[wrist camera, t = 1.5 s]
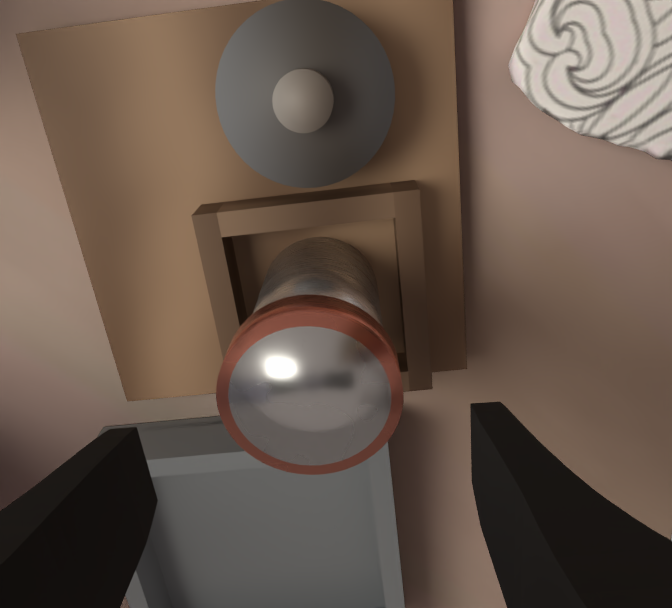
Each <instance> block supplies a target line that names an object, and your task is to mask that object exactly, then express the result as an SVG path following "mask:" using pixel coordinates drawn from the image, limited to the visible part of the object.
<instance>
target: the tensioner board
mask: <svg viewBox="0 0 672 608" xmlns="http://www.w3.org/2000/svg"><path fill="white" fill-rule="evenodd" d="M16 36H17V39H18V43H19V46H20V49H21V52H22V56H23V59H24V62H25V66H26V69H27V72H28V76H29V79H30V82H31V85H32V89H33V92H34V95H35V99H36V102H37V105H38V109H39V112H40V115H41V118H42V122H43V125H44V128H45V132H46V135H47V138H48V142H49V145H50V148H51V151H52V155H53V158H54V161H55V165H56V168H57V171H58V174H59V178H60V181H61V184H62V188H63V191H64V194H65V198H66V201H67V204H68V207H69V211H70V214H71V217H72V221H73V224H74V227H75V231H76V234H77V237H78V240H79V244H80V247H81V250H82V254H83V257H84V260H85V264H86V267H87V270H88V273H89V277H90V280H91V283H92V287H93V290H94V293H95V297H96V300H97V303H98V306H99V310H100V313H101V316H102V320H103V323H104V326H105V330H106V333H107V336H108V339H109V343H110V346H111V349H112V353H113V356H114V359H115V363H116V366H117V369H118V372H119V376H120V379H121V382H122V386H123V389H124V392H125V396H126V399H127V401H137V400H147V399H158V398H168V397H178V396H189V395H199V394H210V393H216V386H217V379H218V375H219V372H220V369H221V366H222V363H223V360H224V358H225V355H226V353H227V350H228V348H229V345H230V343H231V341H232V339H233V337H234V335H235V333H236V332H237V330H238V329H239V327H240V326H241V325H242V324H243V323H244V322H245V320H246V319H247V318H248V317H250V316H251V315H252V314H253V311H254V308H255V305H256V303H257V300H258V297H259V294H260V291H261V288H262V285H263V282H264V279H265V276H266V274H267V271H268V268H269V266H270V264H271V263H272V261H273V260H274V258H275V257H276V256H277V255H278V254H279V253H280V252H281V251H282V250H283V249H285V248H286V247H287V246H289V245H291V244H293V243H295V242H297V241H299V240H303V239H306V238H312V237H329V238H333V239H337V240H340V241H343V242H345V243H347V244H349V245H351V246H353V247H354V248H356V249H357V250H358V251H359V252H360V253H362V254H363V256H364V257H365V258H366V259H367V260H368V262H369V263H370V265H371V267H372V269H373V271H374V274H375V277H376V281H377V287H378V295H379V303H380V310H381V318H382V326H383V328H384V329H385V331H386V332H387V334H388V335H389V337H390V339H391V341H392V343H393V345H394V347H395V350H396V353H397V356H398V362H399V368H400V374H401V380H402V386H403V392H406V391H416V390H427V389H433V388H432V373H431V372H439V371H449V370H460V369H467V359H466V333H465V306H464V280H463V254H462V227H461V201H460V175H459V148H458V122H457V96H456V69H455V43H454V17H453V0H261V1H254V2H246V3H239V4H232V5H224V6H217V7H210V8H202V9H195V10H188V11H180V12H173V13H166V14H158V15H151V16H144V17H136V18H129V19H122V20H114V21H107V22H100V23H92V24H85V25H78V26H70V27H63V28H56V29H48V30H41V31H34V32H26V33H19V34H16Z"/></svg>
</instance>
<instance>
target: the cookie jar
mask: <svg viewBox="0 0 672 608" xmlns="http://www.w3.org/2000/svg"><path fill="white" fill-rule="evenodd" d="M508 66H509V70H510V75H511V80H512V82H513V83H514V84H515V85H517V86H518V87H519V88H520V89H521V90H522V91H523V93H524V94H525V95H526V96H527V98H528V99H529V100H530V101H531V102H532V103H533V104H534V105H535V106H536V107H537V108H539V109H540V110H541V111H543V112H544V113H546V114H547V115H549V116H551V117H553V118H554V119H556V120H557V121H559V122H560V123H562V124H563V125H565V126H566V127H568V128H569V129H571V130H573V131H575V132H577V133H578V134H580V135H583V136H588V137H593V138H598V139H603V140H606V141H608V142H611V143H613V144H616V145H618V146H625V147H631V148H635V149H638V150H641V151H644V152H646V153H648V154H649V155H651V156H652V157H654V158H655V159H665V160H671V161H672V0H535V3H534V5H533V8H532V11H531V14H530V16H529V19H528V21H527V24H526V26H525V28H524V30H523V33H522V34H521V36H520V38H519V40H518V42H517V44H516V46H515V48H514V51H513V54H512V56H511V59H510V62H509V65H508Z"/></svg>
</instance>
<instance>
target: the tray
mask: <svg viewBox="0 0 672 608" xmlns="http://www.w3.org/2000/svg"><path fill="white" fill-rule="evenodd" d="M129 427H137V430H138V433H139V437H140V440H141V444H142V447H143V450H144V454H145V457H146V461H147V464H148V468H149V471H150V475H151V478H152V482H153V485H154V489H155V492H156V496H157V499H158V502H157V506H156V510H155V514H154V518H153V522H152V526H151V529H150V533H149V536H148V540H147V543H146V546H145V548H144V551H143V553H142V556H141V558H140V561H139V563H138V566H137V568H136V570H135V573H134V575H133V578H132V580H131V582H130V585H129V587H128V589H127V592H126V594H125V596H126V599H127V601H128V604H129V607H130V608H405V603H404V593H403V584H402V574H401V564H400V555H399V545H398V535H397V526H396V516H395V507H394V497H393V487H392V478H391V468H390V458H389V449H388V441H387V442H386V443H385V445H384V446H383V447H382V448H381V449H380V450H379V451H378V452H376V453H375V454H374V455H373V456H371V457H370V458H368V459H367V460H365V461H364V462H362V463H360V464H358V465H356V466H354V467H351V468H348V469H346V470H342V471H339V472H335V473H329V474H321V475H305V474H296V473H290V472H286V471H282V470H279V469H276V468H273V467H271V466H268V465H266V464H264V463H262V462H260V461H259V460H257V459H255V458H254V457H252V456H251V455H250V454H248V453H247V452H246V451H245V450H243V449H242V448H241V447H240V446H239V445H238V444H237V443H236V442H235V440H234V439H233V438H232V437H231V435H230V434H229V432H228V431H227V429H226V428H225V426H224V424H223V421H222V419H221V417H220V416H216V417H205V418H195V419H184V420H173V421H163V422H152V423H141V424H131V425H120V426H109V427H103V429H102V430H101V432H100V434H99V435H98V437H99V436H100V435H101V434H103V433H104V432H106V431H107V430H109V429H114V428H129Z"/></svg>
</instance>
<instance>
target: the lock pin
mask: <svg viewBox="0 0 672 608" xmlns="http://www.w3.org/2000/svg"><path fill="white" fill-rule="evenodd" d="M216 399H217V406H218V410H219V413H220V417H221V419H222V421H223V424H224V426H225V428H226V429H227V431H228V432H229V434H230V435H231V437H232V438H233V439H234V440H235V442H236V443H237V444H238V445H239V446H240V447H241V448H242V449H243V450H245V451H246V452H247V453H248V454H250V455H251V456H252V457H254V458H255V459H257V460H259V461H260V462H262V463H264V464H266V465H268V466H271V467H273V468H276V469H279V470H282V471H286V472H290V473H296V474H305V475H321V474H329V473H335V472H339V471H342V470H346V469H348V468H351V467H354V466H356V465H358V464H360V463H362V462H364V461H365V460H367V459H368V458H370V457H371V456H373V455H374V454H375V453H376V452H378V451H379V450H380V449H381V448H382V447H383V446H384V445H385V443H386V442H387V441H388V440H389V439H390V437H391V436H392V434H393V433H394V431H395V429H396V427H397V425H398V423H399V420H400V417H401V413H402V408H403V386H402V380H401V374H400V368H399V362H398V356H397V353H396V350H395V347H394V345H393V343H392V341H391V339H390V337H389V335H388V334H387V332H386V331H385V329H384V328H383V326H382V318H381V310H380V303H379V295H378V287H377V281H376V277H375V274H374V271H373V269H372V267H371V265H370V263H369V262H368V260H367V259H366V258H365V257H364V256H363V254H362V253H360V252H359V251H358V250H357V249H356V248H354V247H353V246H351V245H349V244H347V243H345V242H343V241H340V240H337V239H333V238H329V237H312V238H306V239H303V240H299V241H297V242H295V243H293V244H291V245H289V246H287V247H286V248H285V249H283V250H282V251H281V252H280V253H279V254H278V255H277V256H276V257H275V258H274V260H273V261H272V263H271V264H270V266H269V268H268V271H267V274H266V276H265V279H264V282H263V285H262V288H261V291H260V294H259V297H258V300H257V303H256V305H255V308H254V311H253V314H252V315H251V316H250V317H248V318H247V319H246V320H245V322H244V323H243V324H242V325H241V326H240V327H239V329H238V330H237V332H236V333H235V335H234V337H233V339H232V341H231V343H230V345H229V348H228V350H227V353H226V355H225V358H224V360H223V363H222V366H221V369H220V372H219V375H218V379H217V386H216Z"/></svg>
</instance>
